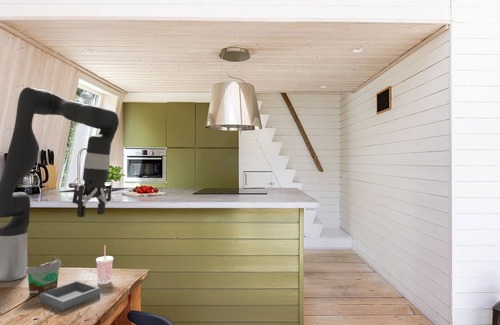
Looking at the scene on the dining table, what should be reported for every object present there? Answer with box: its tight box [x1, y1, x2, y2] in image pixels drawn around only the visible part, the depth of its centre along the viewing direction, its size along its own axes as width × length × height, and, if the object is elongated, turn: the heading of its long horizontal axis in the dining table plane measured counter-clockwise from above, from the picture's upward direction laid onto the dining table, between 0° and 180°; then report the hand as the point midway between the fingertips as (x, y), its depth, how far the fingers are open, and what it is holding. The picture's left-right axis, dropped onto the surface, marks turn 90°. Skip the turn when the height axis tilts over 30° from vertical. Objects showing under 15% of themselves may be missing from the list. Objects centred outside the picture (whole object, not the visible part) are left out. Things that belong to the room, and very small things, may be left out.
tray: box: [39, 280, 101, 312], centre depth 105 cm, size 13×13×3 cm
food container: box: [26, 256, 62, 297], centre depth 112 cm, size 12×6×10 cm, turn 168°
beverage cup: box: [95, 244, 114, 285], centre depth 121 cm, size 6×6×14 cm
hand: (90, 215), depth 106 cm, fingers open, 8 cm apart
